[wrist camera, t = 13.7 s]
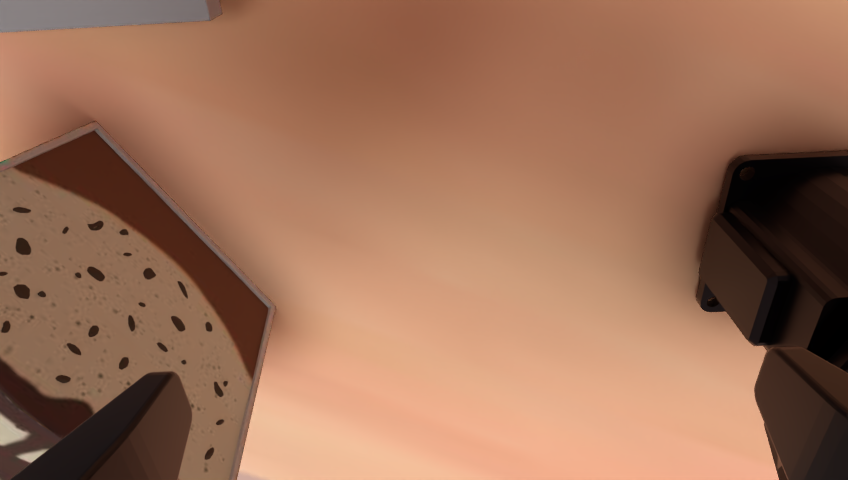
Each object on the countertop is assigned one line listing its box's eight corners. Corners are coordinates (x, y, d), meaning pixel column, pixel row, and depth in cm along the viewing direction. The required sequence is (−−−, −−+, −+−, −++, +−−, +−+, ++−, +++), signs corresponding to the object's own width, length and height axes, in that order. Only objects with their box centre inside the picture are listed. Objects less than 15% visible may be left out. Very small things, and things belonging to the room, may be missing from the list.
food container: (-56, 175, 20) (-412, 381, 12) (59, 83, 18) (-258, 243, 10) (192, 387, 26) (75, 634, 17) (299, 330, 24) (228, 573, 15)
